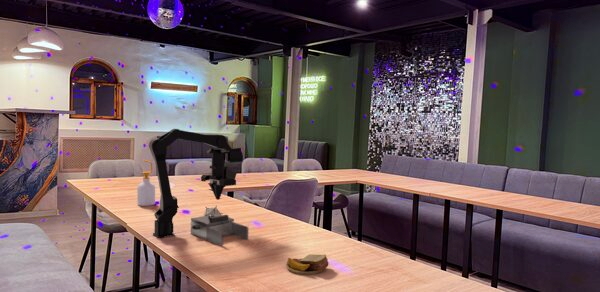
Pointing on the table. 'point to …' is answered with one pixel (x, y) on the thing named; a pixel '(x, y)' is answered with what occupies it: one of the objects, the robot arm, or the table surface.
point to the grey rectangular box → (219, 231)
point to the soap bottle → (146, 190)
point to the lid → (212, 219)
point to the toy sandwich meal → (308, 264)
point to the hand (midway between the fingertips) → (217, 199)
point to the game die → (211, 211)
